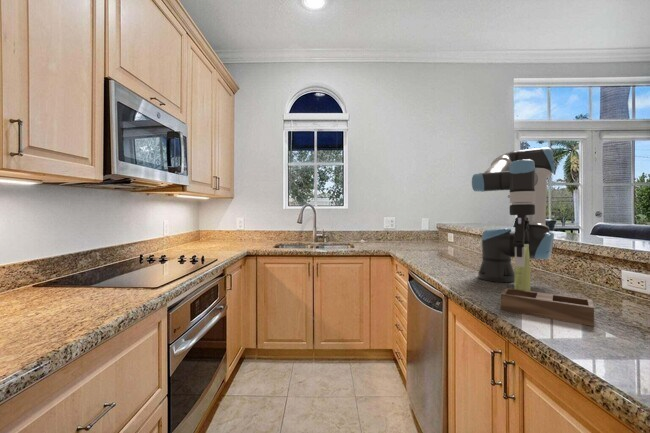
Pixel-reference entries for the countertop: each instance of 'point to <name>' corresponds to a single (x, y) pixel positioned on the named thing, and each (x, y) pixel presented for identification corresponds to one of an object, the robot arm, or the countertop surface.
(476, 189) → the robot arm
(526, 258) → the tube
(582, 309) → the brown wooden slotted holder
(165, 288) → the countertop surface
